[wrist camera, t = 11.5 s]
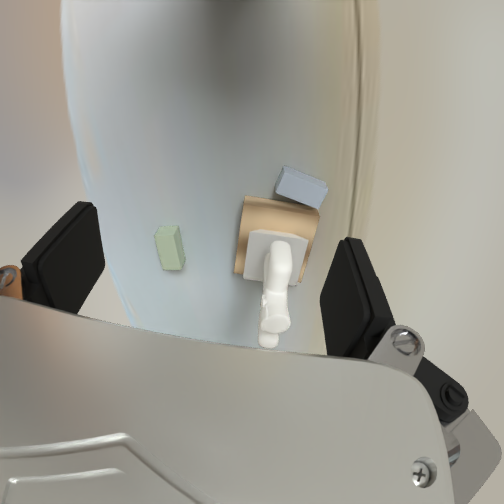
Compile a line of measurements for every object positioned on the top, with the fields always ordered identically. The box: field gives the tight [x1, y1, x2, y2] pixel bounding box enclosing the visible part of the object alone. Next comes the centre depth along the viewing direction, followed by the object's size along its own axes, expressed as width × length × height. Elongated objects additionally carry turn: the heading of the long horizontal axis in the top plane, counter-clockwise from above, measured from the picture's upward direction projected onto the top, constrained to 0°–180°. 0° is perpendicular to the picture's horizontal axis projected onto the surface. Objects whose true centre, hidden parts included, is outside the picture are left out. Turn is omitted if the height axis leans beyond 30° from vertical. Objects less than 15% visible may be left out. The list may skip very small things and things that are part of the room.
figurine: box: [243, 229, 309, 349], centre depth 36 cm, size 7×9×15 cm
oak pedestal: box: [234, 195, 320, 283], centre depth 43 cm, size 11×10×3 cm
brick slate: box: [275, 166, 328, 209], centre depth 39 cm, size 6×3×3 cm, turn 70°
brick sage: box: [154, 226, 185, 270], centre depth 45 cm, size 6×3×3 cm, turn 4°
